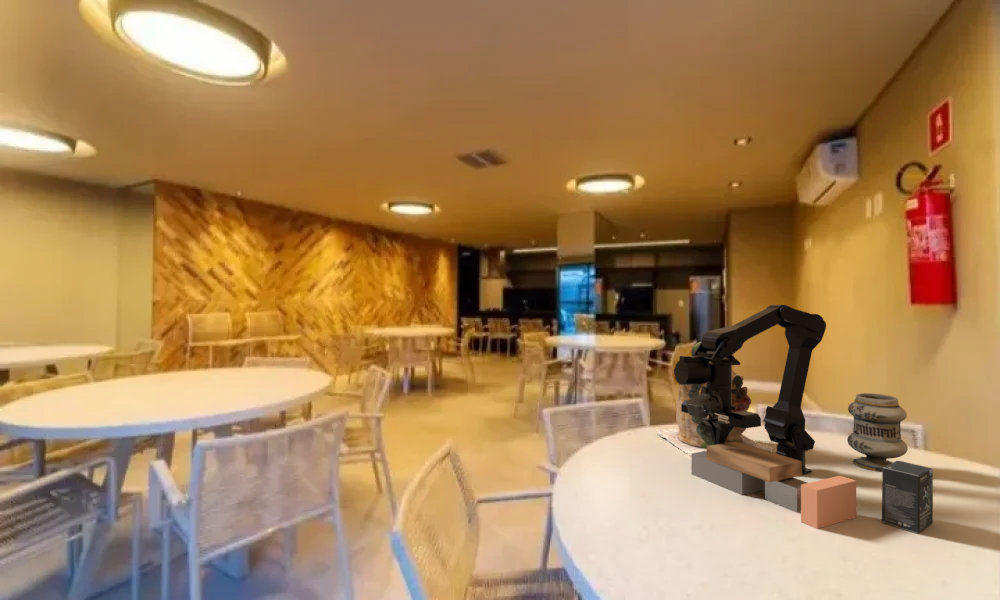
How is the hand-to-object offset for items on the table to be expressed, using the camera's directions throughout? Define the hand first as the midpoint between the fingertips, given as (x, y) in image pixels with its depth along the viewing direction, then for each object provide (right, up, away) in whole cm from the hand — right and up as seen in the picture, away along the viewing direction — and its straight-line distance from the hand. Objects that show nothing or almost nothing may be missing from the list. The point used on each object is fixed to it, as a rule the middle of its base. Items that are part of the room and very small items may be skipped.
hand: (718, 448), depth 114 cm
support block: (+7, -7, -16) cm, 19 cm away
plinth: (+1, -7, -3) cm, 7 cm away
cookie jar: (+10, -7, +26) cm, 29 cm away
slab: (+4, -2, -8) cm, 9 cm away
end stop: (+11, -6, -23) cm, 26 cm away
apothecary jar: (+44, -7, +7) cm, 45 cm away
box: (+24, -7, -25) cm, 35 cm away
